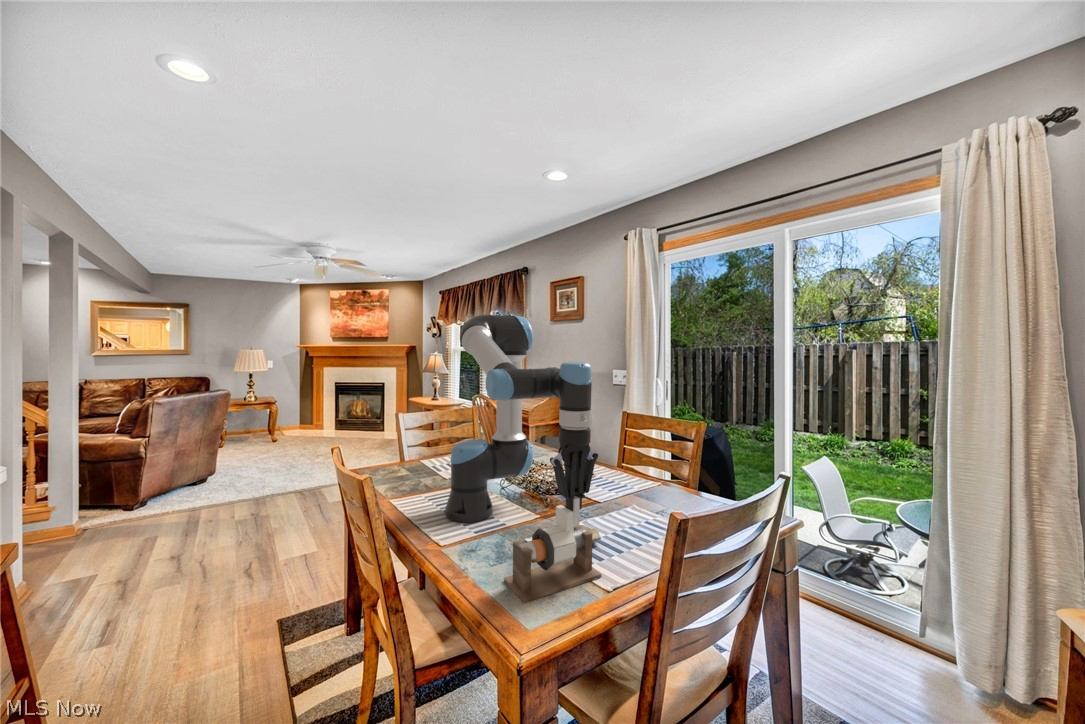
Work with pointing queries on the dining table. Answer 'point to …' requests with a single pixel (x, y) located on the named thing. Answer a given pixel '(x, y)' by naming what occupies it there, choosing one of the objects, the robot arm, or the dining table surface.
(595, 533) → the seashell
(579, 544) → the pipe
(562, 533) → the sleeve
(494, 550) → the dining table surface
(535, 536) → the ring
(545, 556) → the band
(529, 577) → the stand
